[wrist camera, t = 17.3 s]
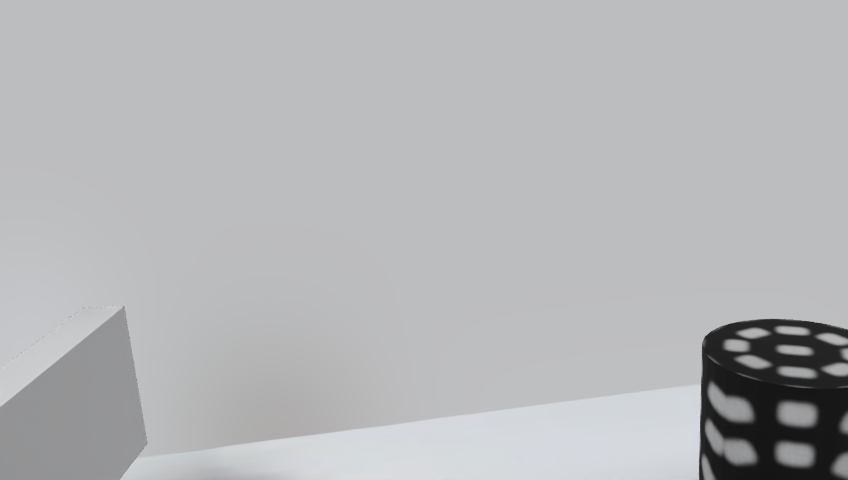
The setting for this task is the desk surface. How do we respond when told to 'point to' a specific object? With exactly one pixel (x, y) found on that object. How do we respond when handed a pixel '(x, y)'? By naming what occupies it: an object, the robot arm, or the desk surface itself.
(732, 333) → the spotted tube
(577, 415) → the desk surface
